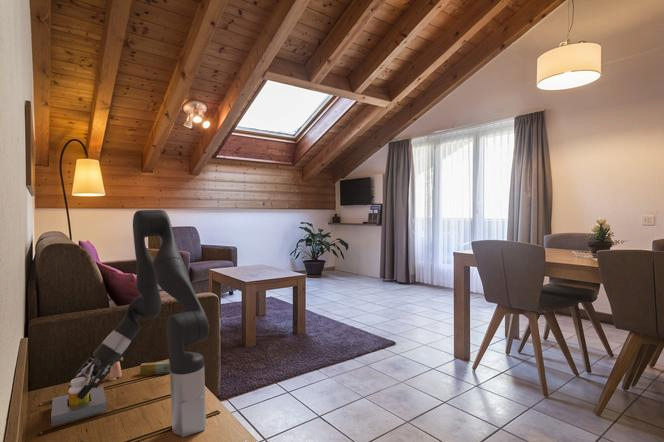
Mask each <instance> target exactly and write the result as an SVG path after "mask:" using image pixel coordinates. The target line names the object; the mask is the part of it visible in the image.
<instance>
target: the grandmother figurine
mask: <svg viewBox="0 0 664 442" xmlns="http://www.w3.org/2000/svg"><path fill="white" fill-rule="evenodd" d="M120 361H124V358H123V354H122V355H121V356H120V357H119V359H118V360H117V361H116V362H115V364H114V365H113V366H110V365H108V366H107V367H106V368H107V369H109V368H110V369H109V370H110V372H109V379H108V380H109V381H111V382H113V381H116V380H118V379H119V378H121V377H122V368H121V363H120Z"/></svg>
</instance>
